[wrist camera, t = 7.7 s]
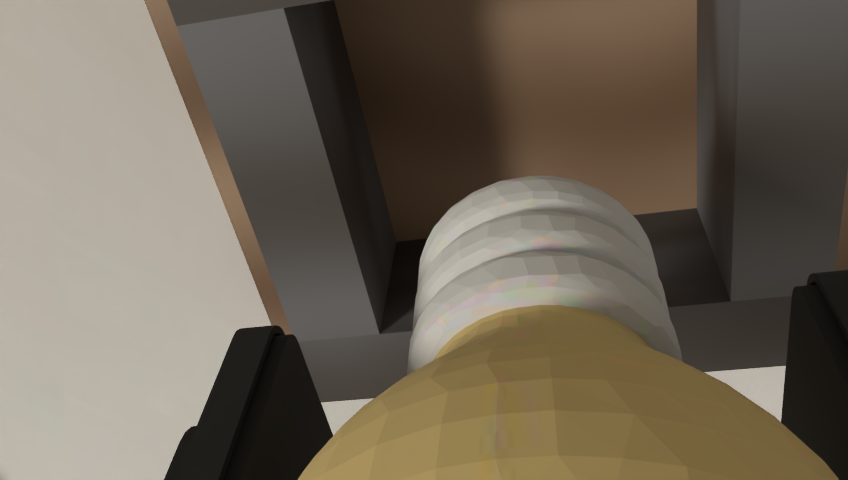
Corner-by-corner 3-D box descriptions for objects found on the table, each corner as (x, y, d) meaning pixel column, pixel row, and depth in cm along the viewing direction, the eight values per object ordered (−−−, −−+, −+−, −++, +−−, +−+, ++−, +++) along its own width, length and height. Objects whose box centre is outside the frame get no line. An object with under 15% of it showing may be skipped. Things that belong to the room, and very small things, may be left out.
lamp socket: (78, -243, 16) (-56, -214, 12) (942, -447, 13) (1123, -493, 10) (297, 342, 25) (260, 466, 21) (844, 292, 22) (917, 423, 18)
